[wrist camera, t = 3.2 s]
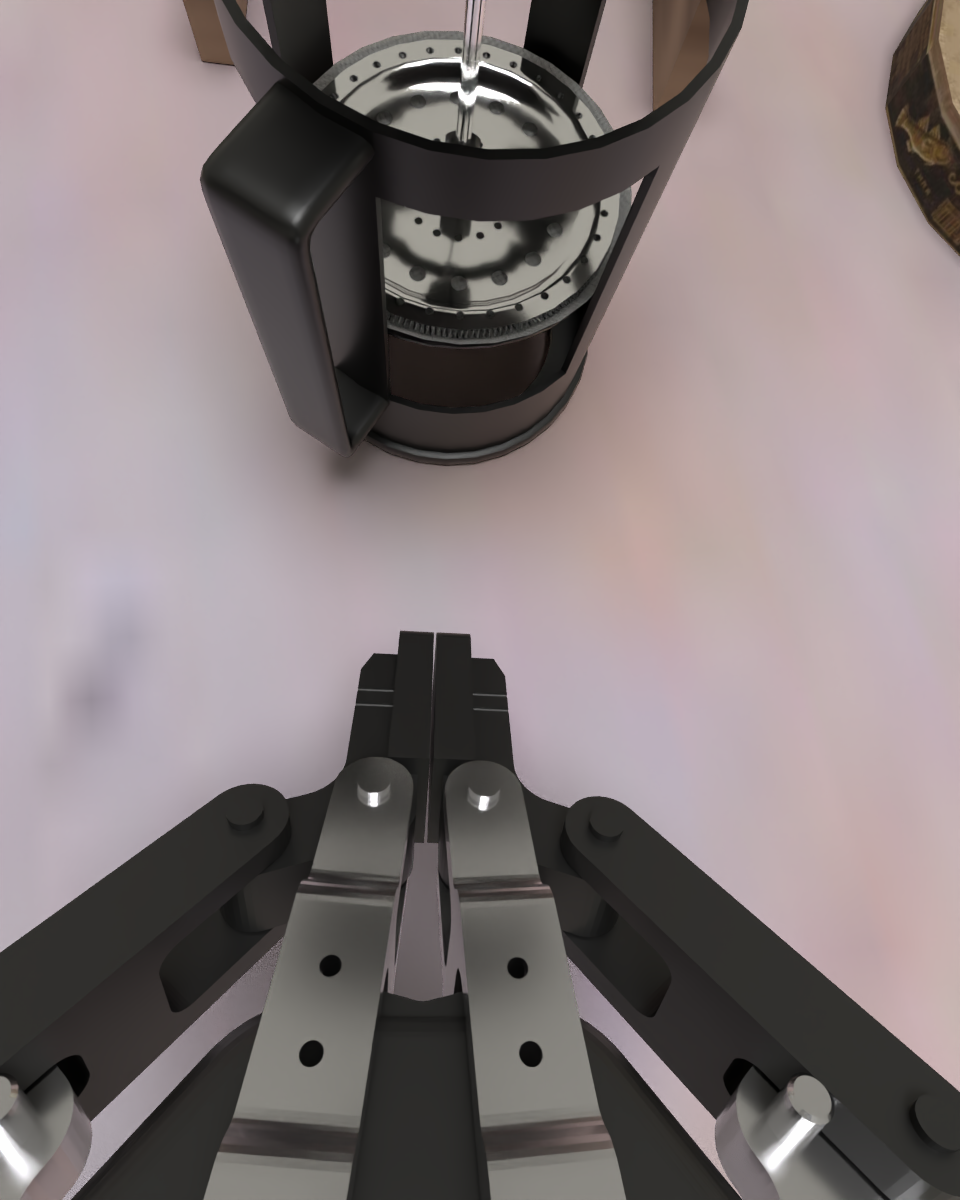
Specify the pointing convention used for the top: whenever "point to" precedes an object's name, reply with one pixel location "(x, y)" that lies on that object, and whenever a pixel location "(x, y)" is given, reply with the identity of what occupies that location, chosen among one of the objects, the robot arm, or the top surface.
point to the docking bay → (674, 41)
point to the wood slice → (929, 114)
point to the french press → (434, 210)
